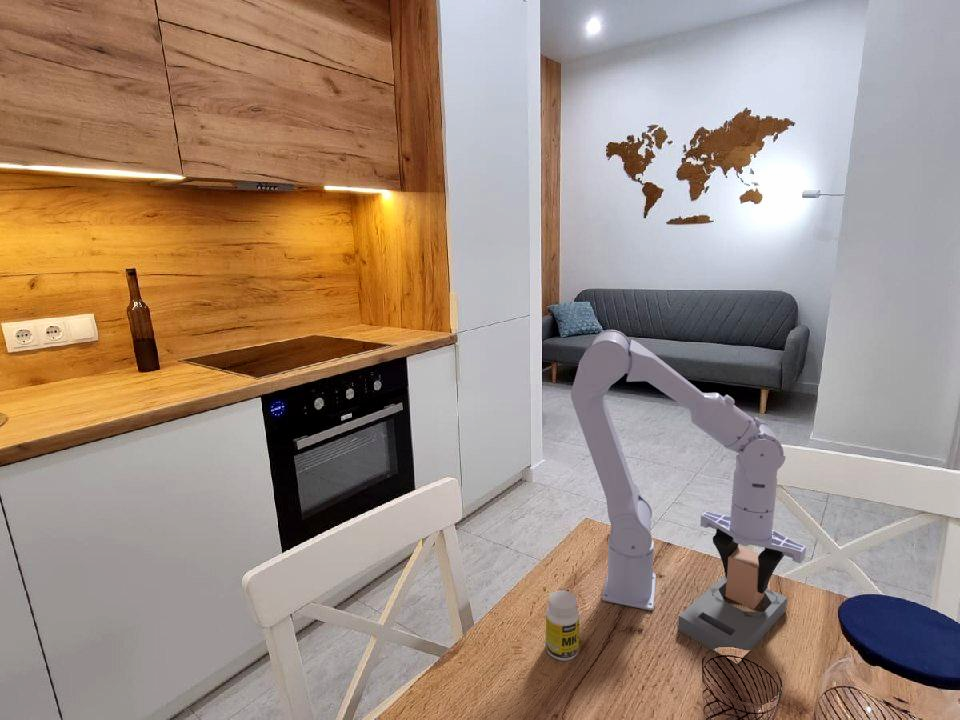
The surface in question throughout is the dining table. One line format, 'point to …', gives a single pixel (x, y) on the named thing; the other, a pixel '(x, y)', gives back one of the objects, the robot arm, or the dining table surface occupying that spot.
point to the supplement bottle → (562, 626)
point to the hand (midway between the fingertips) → (745, 582)
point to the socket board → (729, 619)
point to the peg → (743, 577)
